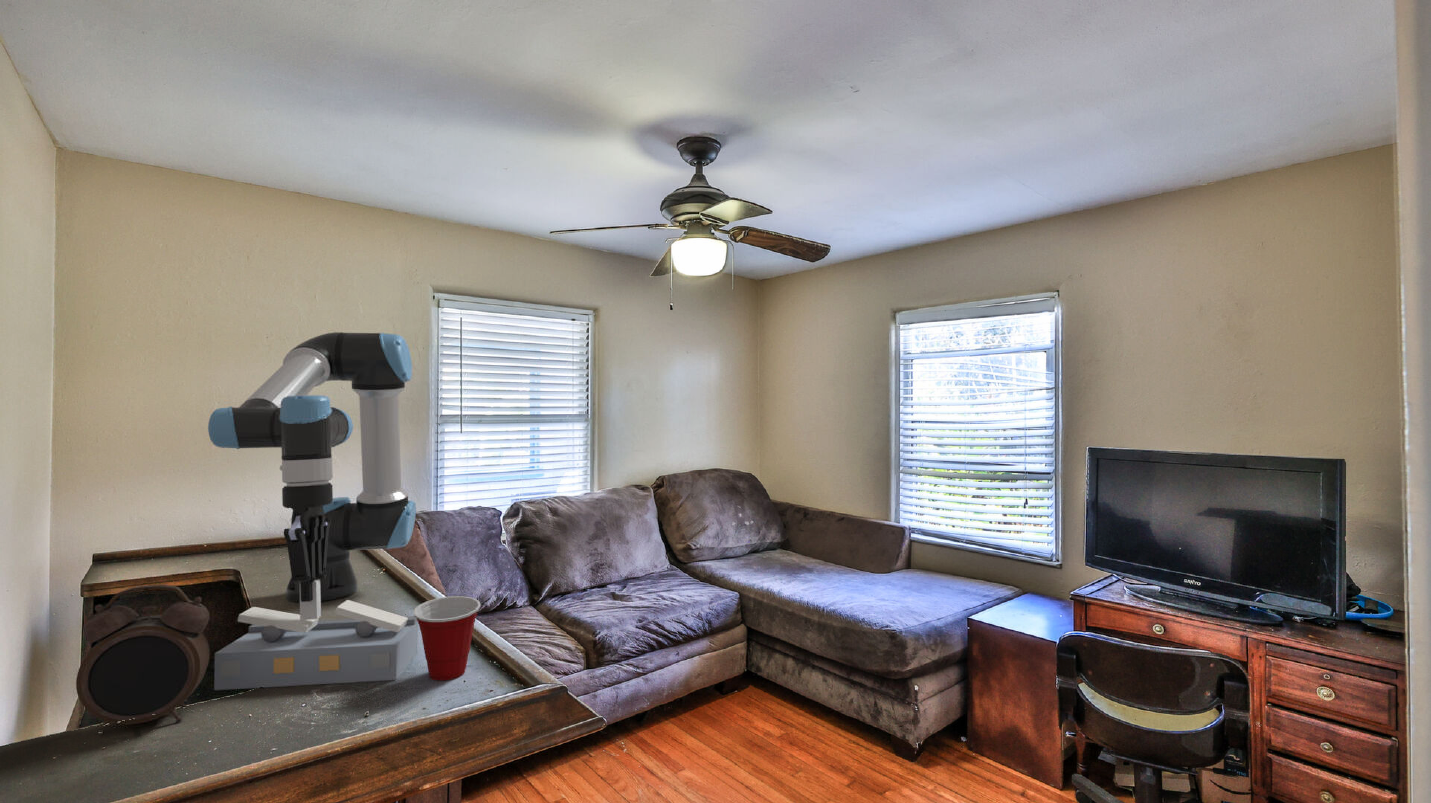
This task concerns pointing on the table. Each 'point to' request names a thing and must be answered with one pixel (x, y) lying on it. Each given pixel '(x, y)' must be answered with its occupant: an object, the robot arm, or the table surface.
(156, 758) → the table surface
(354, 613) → the rocker right
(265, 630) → the rocker left
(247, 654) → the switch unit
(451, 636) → the plastic cup
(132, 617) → the alarm clock
